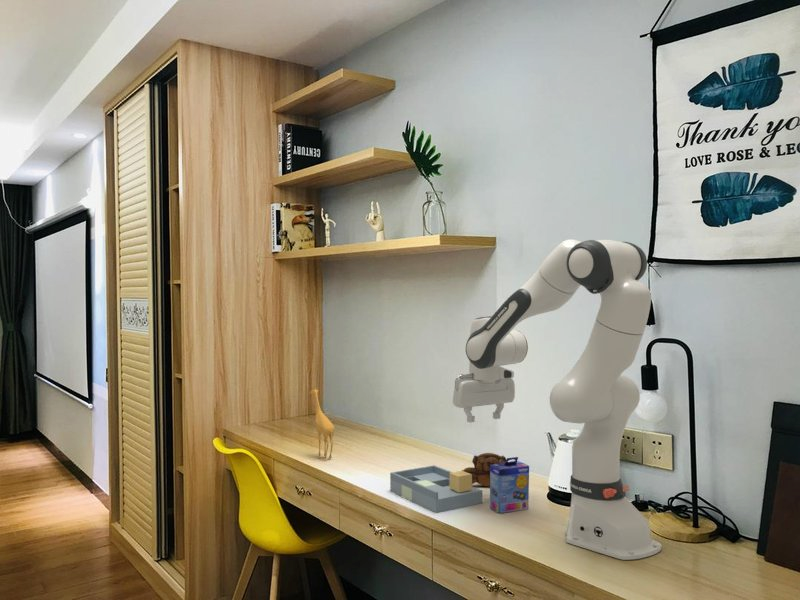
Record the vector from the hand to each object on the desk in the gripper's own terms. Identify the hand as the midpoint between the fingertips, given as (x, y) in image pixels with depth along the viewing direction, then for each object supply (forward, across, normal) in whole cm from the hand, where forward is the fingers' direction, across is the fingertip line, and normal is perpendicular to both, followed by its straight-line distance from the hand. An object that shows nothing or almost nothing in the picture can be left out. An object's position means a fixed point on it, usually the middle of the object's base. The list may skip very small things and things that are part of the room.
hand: (483, 420), depth 191 cm
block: (+19, -8, 0) cm, 21 cm away
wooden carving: (+23, +9, +8) cm, 26 cm away
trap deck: (+23, -11, +8) cm, 27 cm away
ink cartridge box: (+22, 0, -12) cm, 25 cm away
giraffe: (+25, -19, +69) cm, 76 cm away
